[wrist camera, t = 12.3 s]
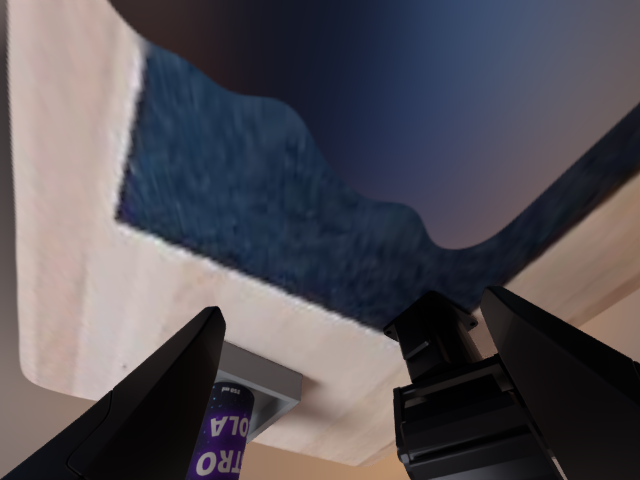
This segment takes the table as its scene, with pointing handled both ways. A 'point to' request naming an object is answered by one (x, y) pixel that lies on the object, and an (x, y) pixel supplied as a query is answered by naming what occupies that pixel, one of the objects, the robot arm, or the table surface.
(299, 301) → the table surface
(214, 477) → the beverage can
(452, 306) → the robot arm
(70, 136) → the table surface
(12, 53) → the table surface
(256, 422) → the tray
